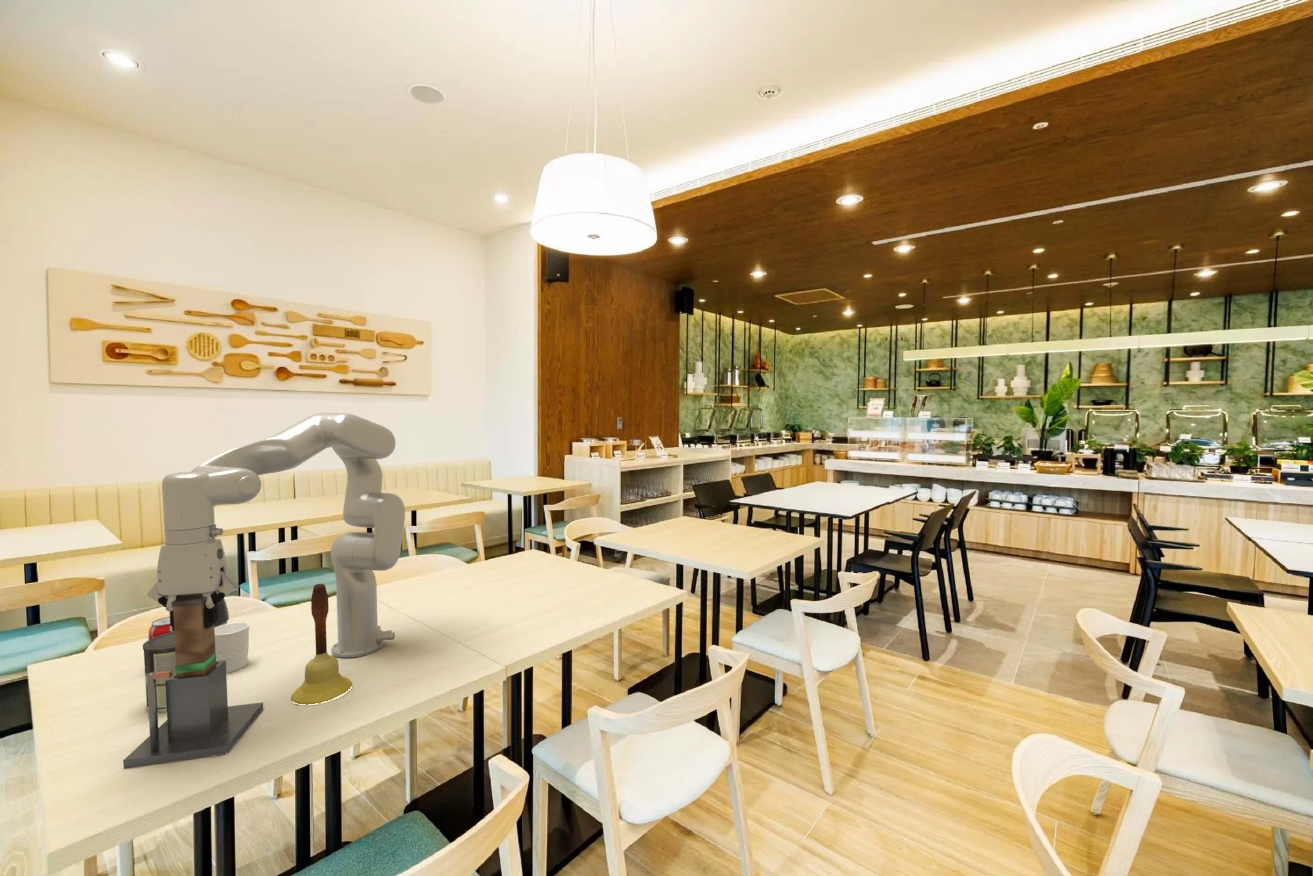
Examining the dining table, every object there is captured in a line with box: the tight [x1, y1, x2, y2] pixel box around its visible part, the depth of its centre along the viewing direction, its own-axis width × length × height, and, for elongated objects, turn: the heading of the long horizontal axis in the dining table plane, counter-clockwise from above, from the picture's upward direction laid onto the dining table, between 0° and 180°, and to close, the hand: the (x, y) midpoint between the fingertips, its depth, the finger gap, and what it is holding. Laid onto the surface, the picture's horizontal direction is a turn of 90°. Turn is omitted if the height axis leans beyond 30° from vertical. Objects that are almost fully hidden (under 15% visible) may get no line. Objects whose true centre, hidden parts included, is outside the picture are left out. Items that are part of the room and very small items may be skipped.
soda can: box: [147, 616, 173, 641], centre depth 138 cm, size 7×7×12 cm
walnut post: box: [172, 594, 216, 678], centre depth 108 cm, size 5×5×19 cm
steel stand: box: [122, 660, 264, 769], centre depth 109 cm, size 16×16×16 cm
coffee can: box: [142, 632, 176, 713], centre depth 122 cm, size 10×10×14 cm
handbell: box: [290, 583, 353, 705], centre depth 126 cm, size 12×12×25 cm
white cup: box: [214, 621, 250, 674], centre depth 138 cm, size 8×8×10 cm
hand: (194, 626), depth 108 cm, fingers closed on walnut post, 4 cm apart
